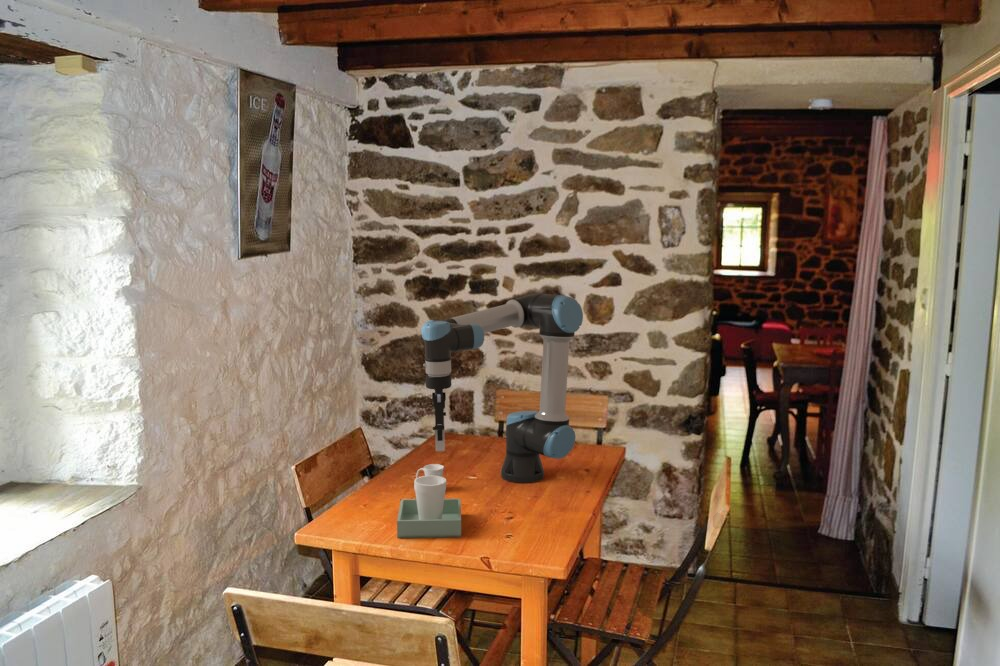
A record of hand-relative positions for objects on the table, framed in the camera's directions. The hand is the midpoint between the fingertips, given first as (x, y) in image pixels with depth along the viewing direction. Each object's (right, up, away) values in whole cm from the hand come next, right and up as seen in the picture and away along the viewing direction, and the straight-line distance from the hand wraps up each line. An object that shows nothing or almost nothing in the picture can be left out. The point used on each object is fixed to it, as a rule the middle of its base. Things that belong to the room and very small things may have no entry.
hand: (440, 444), depth 240 cm
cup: (-6, -19, +28) cm, 34 cm away
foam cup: (-3, -23, -3) cm, 23 cm away
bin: (-3, -23, -4) cm, 24 cm away
